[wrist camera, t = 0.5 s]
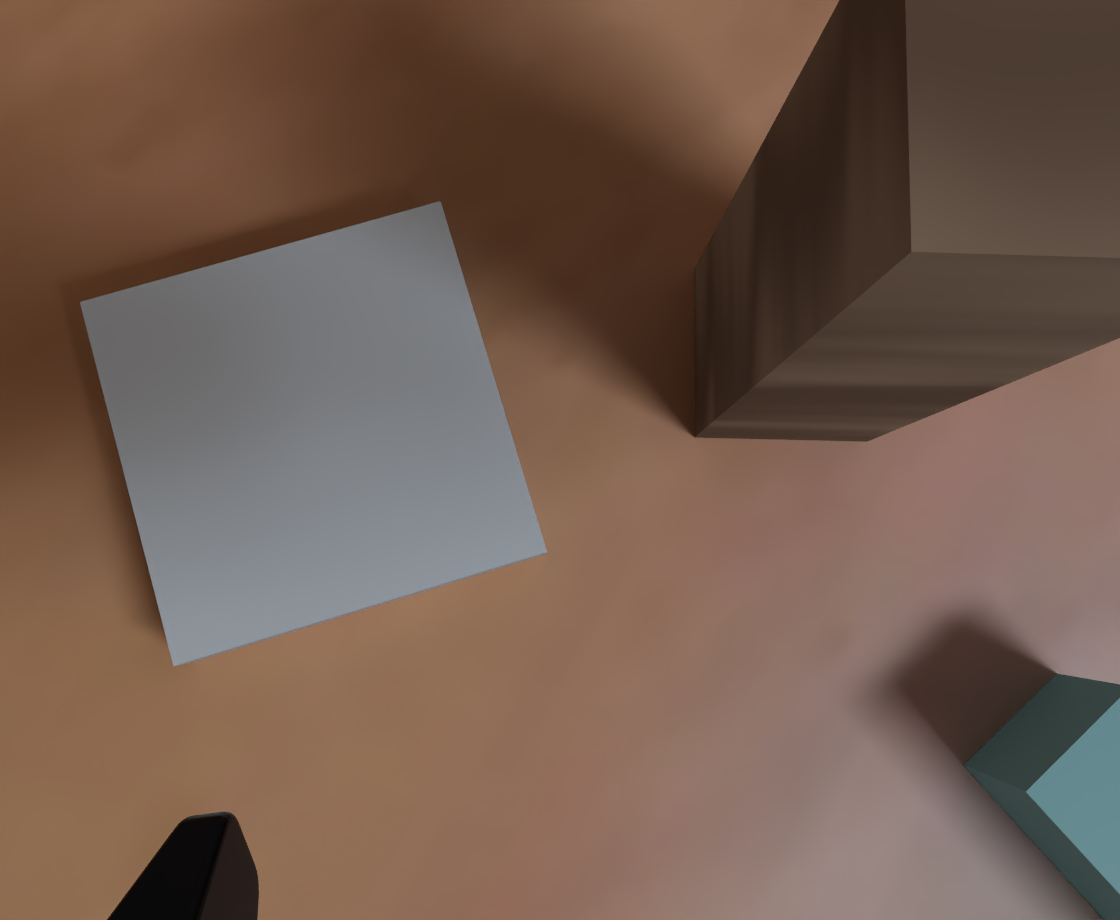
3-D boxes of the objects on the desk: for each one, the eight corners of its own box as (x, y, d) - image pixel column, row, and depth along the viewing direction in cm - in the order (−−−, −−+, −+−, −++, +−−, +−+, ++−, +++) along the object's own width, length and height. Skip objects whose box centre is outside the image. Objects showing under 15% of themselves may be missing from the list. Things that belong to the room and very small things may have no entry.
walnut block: (867, 441, 23) (1300, 262, 10) (694, 437, 23) (912, 251, 10) (863, 273, 24) (1274, -102, 11) (694, 268, 23) (902, -116, 10)
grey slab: (545, 554, 23) (547, 551, 21) (205, 658, 22) (173, 666, 20) (447, 232, 24) (440, 200, 22) (117, 325, 23) (79, 302, 21)
